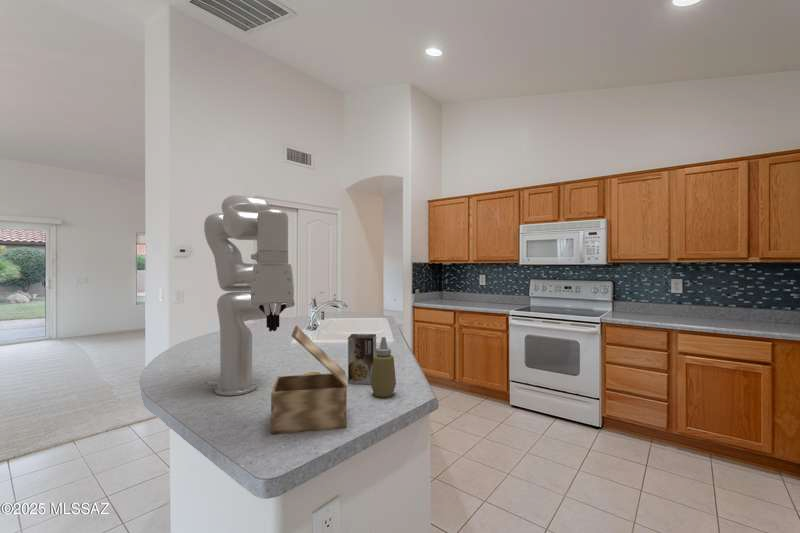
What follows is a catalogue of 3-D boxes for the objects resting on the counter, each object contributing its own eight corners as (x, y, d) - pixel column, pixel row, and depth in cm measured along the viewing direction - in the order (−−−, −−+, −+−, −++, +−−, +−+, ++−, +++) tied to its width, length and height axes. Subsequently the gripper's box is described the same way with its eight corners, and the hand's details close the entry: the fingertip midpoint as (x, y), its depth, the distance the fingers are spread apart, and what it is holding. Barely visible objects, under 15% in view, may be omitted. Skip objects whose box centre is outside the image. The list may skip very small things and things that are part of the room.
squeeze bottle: (386, 401, 110) (387, 341, 110) (365, 395, 114) (365, 338, 114) (401, 393, 117) (401, 336, 117) (380, 388, 121) (380, 333, 121)
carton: (271, 434, 88) (271, 392, 88) (277, 412, 101) (277, 376, 101) (346, 427, 92) (346, 387, 92) (343, 407, 105) (343, 372, 105)
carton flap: (291, 335, 89) (293, 334, 89) (294, 327, 102) (296, 325, 102) (346, 387, 92) (348, 385, 92) (343, 372, 105) (345, 371, 105)
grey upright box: (376, 379, 131) (377, 333, 131) (373, 385, 124) (373, 337, 124) (351, 378, 132) (351, 333, 132) (347, 383, 125) (347, 336, 125)
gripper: (238, 258, 89) (238, 334, 89) (302, 258, 92) (302, 331, 92) (244, 259, 96) (244, 329, 96) (303, 259, 99) (303, 327, 99)
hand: (273, 330), depth 94 cm, fingers closed
